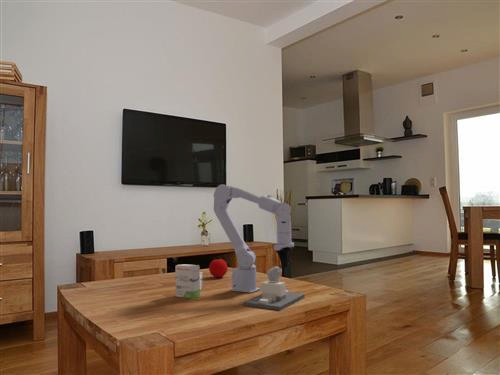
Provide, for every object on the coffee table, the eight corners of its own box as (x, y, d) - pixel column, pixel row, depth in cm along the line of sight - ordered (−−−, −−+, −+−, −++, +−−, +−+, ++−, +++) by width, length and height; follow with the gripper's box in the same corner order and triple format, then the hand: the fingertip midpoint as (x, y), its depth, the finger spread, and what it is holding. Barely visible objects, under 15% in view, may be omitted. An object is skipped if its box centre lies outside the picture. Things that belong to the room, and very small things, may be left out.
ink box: (200, 296, 140) (200, 264, 141) (192, 299, 136) (192, 266, 136) (183, 293, 144) (183, 263, 145) (174, 296, 140) (174, 265, 141)
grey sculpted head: (281, 283, 161) (281, 267, 161) (265, 283, 162) (265, 267, 163) (283, 281, 167) (282, 265, 167) (267, 280, 168) (267, 265, 169)
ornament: (210, 279, 174) (209, 258, 174) (208, 276, 183) (208, 256, 183) (229, 278, 176) (228, 257, 176) (226, 275, 184) (226, 255, 185)
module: (261, 298, 129) (261, 281, 130) (266, 296, 133) (266, 279, 133) (280, 300, 125) (280, 283, 126) (285, 298, 129) (285, 281, 129)
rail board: (243, 305, 125) (242, 296, 125) (270, 293, 142) (270, 285, 142) (280, 310, 118) (280, 300, 118) (304, 297, 135) (304, 289, 135)
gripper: (285, 233, 140) (286, 270, 139) (300, 231, 152) (301, 265, 151) (268, 233, 143) (269, 269, 142) (285, 231, 156) (285, 264, 155)
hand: (284, 266), depth 147 cm, fingers closed
